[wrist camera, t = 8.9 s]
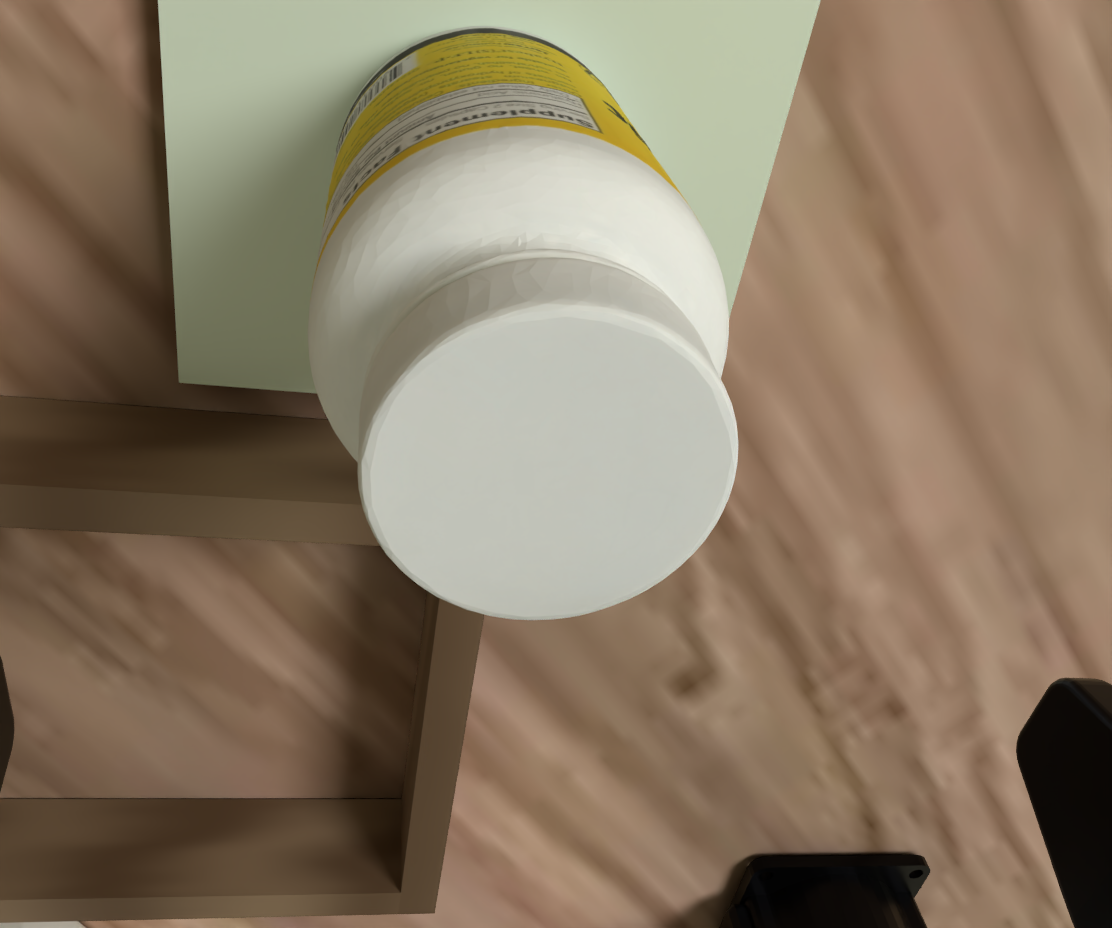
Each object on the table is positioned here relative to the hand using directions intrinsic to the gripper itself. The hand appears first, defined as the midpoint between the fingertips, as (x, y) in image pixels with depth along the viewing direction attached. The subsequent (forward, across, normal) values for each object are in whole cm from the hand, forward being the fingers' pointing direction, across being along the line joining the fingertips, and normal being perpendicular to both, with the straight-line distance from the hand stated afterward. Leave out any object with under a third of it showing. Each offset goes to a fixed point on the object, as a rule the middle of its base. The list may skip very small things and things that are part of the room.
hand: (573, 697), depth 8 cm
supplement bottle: (+12, 0, 0) cm, 12 cm away
